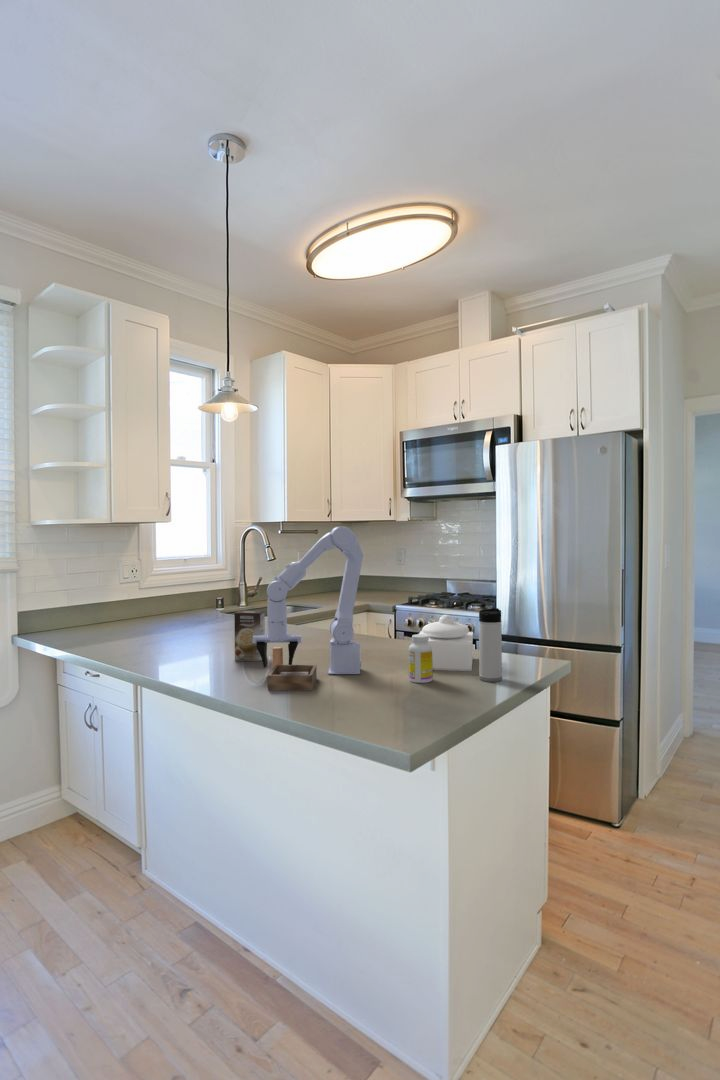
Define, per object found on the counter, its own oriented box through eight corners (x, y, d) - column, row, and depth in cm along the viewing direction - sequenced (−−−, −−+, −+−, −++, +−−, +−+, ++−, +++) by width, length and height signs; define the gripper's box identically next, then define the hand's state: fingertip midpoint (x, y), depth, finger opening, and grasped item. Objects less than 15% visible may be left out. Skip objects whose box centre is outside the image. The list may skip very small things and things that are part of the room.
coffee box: (233, 661, 192) (232, 612, 191) (239, 656, 198) (238, 610, 198) (260, 661, 191) (260, 612, 190) (265, 657, 197) (265, 610, 197)
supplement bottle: (435, 679, 166) (435, 634, 165) (428, 684, 160) (428, 638, 159) (413, 676, 168) (413, 632, 168) (405, 682, 162) (405, 636, 162)
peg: (283, 673, 174) (283, 647, 174) (282, 676, 171) (281, 649, 171) (273, 673, 174) (273, 647, 174) (272, 676, 171) (271, 649, 171)
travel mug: (506, 678, 165) (506, 608, 164) (494, 683, 160) (494, 611, 160) (487, 675, 169) (486, 607, 169) (475, 679, 164) (474, 609, 164)
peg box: (316, 678, 168) (316, 664, 168) (312, 690, 156) (312, 675, 156) (275, 678, 168) (275, 665, 168) (267, 690, 156) (267, 675, 156)
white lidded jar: (414, 669, 178) (413, 618, 178) (420, 656, 196) (420, 609, 195) (471, 671, 174) (471, 619, 174) (473, 658, 192) (472, 610, 192)
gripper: (250, 623, 168) (250, 670, 169) (299, 623, 168) (300, 669, 168) (255, 619, 175) (255, 664, 176) (302, 619, 175) (303, 664, 175)
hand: (277, 666), depth 172 cm, fingers open, 7 cm apart
